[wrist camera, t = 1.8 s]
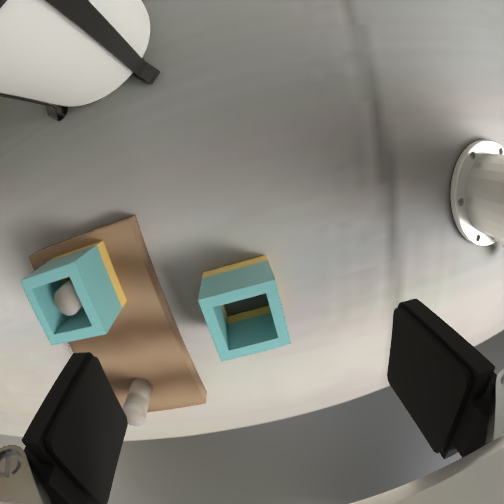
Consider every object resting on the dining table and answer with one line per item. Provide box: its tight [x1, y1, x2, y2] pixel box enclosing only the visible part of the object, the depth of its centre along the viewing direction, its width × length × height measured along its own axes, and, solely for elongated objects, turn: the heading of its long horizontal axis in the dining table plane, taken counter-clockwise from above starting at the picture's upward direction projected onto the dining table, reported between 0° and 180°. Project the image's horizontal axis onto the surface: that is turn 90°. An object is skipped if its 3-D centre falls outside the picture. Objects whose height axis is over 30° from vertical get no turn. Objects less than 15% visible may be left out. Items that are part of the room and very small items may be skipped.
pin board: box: [29, 216, 206, 426], centre depth 27 cm, size 21×12×7 cm, turn 15°
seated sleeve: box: [20, 240, 127, 345], centre depth 24 cm, size 6×6×6 cm
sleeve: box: [198, 255, 291, 361], centre depth 27 cm, size 6×6×6 cm
